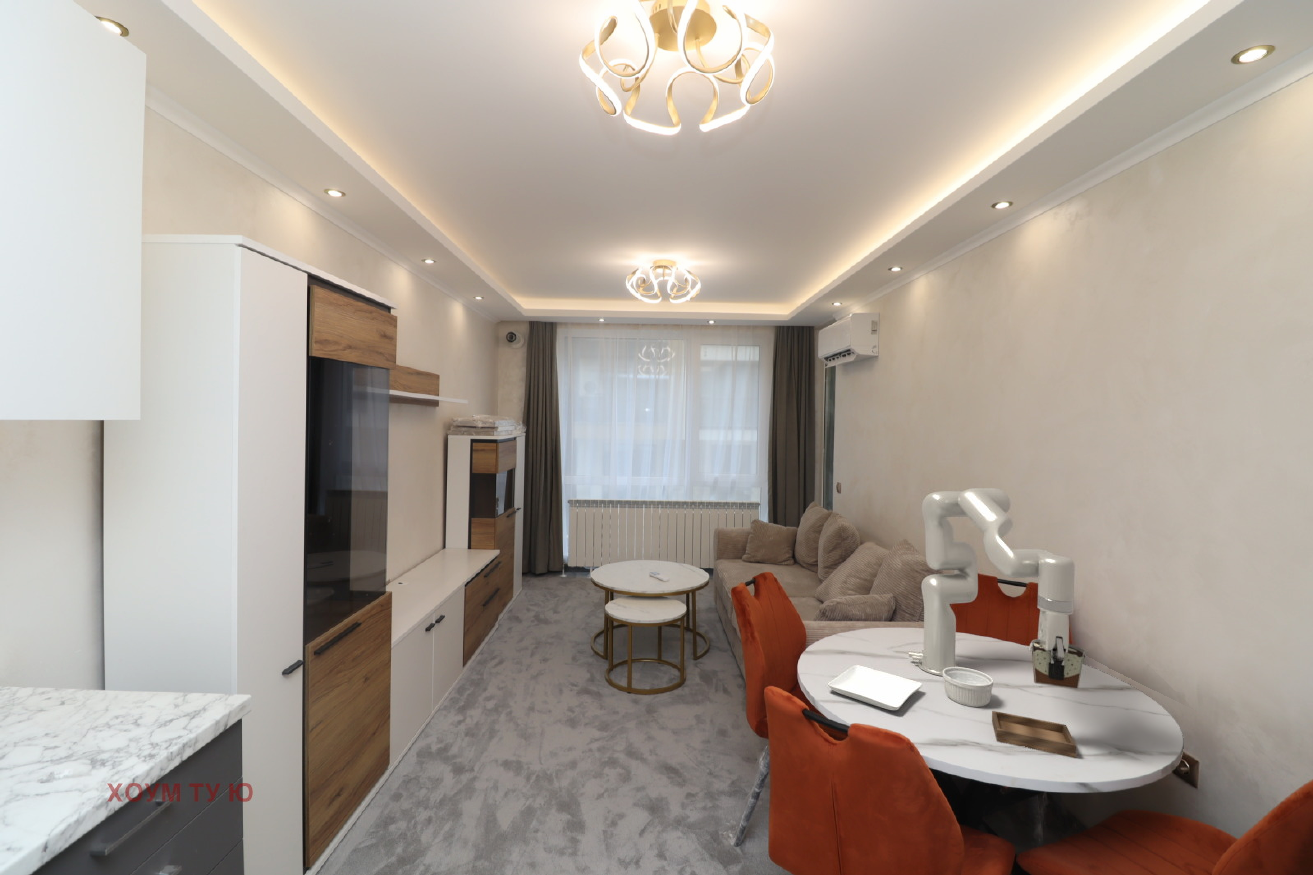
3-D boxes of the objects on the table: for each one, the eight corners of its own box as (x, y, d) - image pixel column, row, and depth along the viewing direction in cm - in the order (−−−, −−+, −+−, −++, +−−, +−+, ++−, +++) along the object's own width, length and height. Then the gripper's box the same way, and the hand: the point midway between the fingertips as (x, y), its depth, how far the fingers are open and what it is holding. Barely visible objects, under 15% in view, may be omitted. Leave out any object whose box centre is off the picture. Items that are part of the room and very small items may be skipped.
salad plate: (825, 694, 169) (825, 683, 169) (855, 673, 185) (855, 662, 185) (897, 719, 155) (898, 707, 155) (923, 694, 171) (923, 683, 171)
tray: (996, 741, 144) (997, 729, 144) (991, 721, 154) (992, 710, 154) (1076, 758, 137) (1076, 745, 137) (1065, 736, 147) (1065, 724, 147)
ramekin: (932, 693, 171) (932, 670, 171) (962, 686, 176) (963, 663, 176) (971, 713, 159) (972, 688, 159) (1003, 705, 164) (1003, 681, 164)
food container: (1075, 680, 147) (1076, 642, 147) (1085, 690, 141) (1086, 650, 141) (1021, 672, 151) (1022, 635, 150) (1028, 682, 145) (1030, 643, 145)
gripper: (1031, 593, 154) (1029, 659, 155) (1045, 612, 139) (1043, 685, 139) (1064, 597, 151) (1062, 664, 152) (1082, 616, 136) (1080, 691, 136)
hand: (1053, 673), depth 145 cm, fingers closed on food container, 5 cm apart
